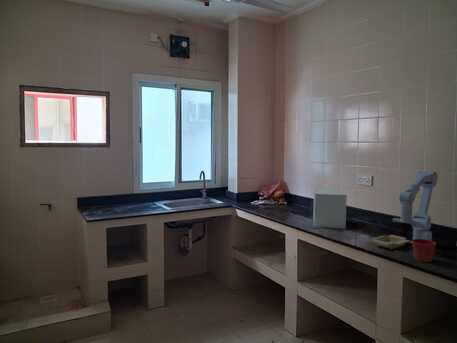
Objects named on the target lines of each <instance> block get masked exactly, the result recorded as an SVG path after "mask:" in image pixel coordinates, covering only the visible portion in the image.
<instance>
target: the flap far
mask: <svg viewBox="0 0 457 343" xmlns="http://www.w3.org/2000/svg"><path fill="white" fill-rule="evenodd" d="M385 236H386V235H380V236H377V237H374V238H371V239H369V241H371V240H375V239H378V238H382V237H385Z"/></svg>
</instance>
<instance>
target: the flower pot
mask: <svg viewBox="0 0 457 343" xmlns="http://www.w3.org/2000/svg"><path fill="white" fill-rule="evenodd" d="M411 241H412V243H411V244H412V250H413V256H414V259H415V260H416V261H419V262H423V263H430V262H432V261H433V258H434V254H435V251H436V250H435V249H436V246H437V242H435V241H433V240H432V241H431V240H426V239H413V238H412V240H411Z"/></svg>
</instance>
